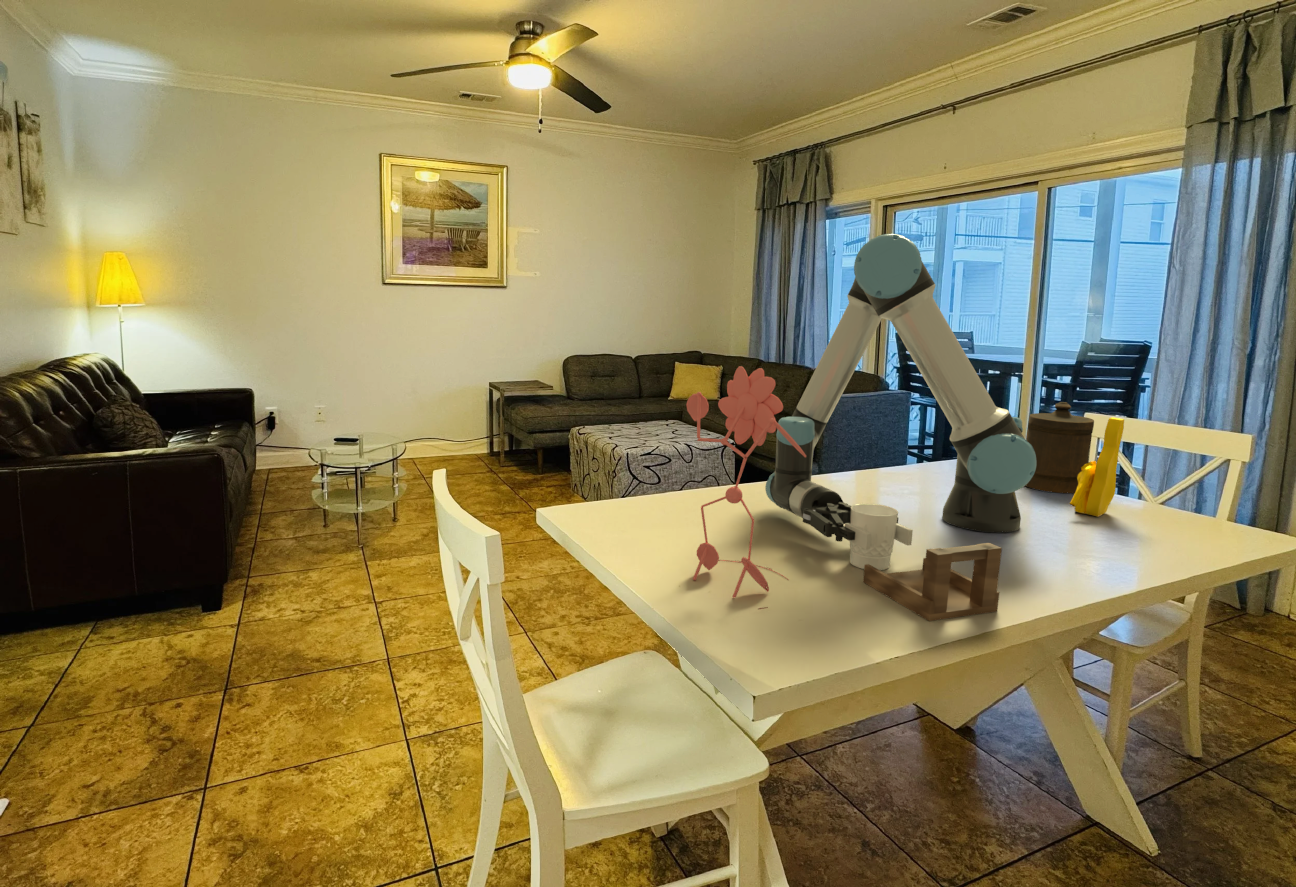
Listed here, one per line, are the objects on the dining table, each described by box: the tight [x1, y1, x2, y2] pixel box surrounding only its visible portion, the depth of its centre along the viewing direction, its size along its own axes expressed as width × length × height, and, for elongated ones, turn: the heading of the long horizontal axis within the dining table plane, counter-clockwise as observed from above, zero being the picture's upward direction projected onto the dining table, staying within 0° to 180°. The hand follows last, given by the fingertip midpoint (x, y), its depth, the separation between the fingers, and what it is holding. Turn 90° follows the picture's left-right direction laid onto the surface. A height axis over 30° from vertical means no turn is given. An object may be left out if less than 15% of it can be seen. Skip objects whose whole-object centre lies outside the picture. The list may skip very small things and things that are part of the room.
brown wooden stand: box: [862, 542, 1003, 622], centre depth 117 cm, size 16×12×10 cm
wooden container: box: [1024, 401, 1095, 494], centre depth 191 cm, size 15×15×22 cm
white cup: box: [849, 503, 899, 571], centre depth 131 cm, size 8×8×10 cm
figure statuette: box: [1069, 417, 1125, 518], centre depth 166 cm, size 18×8×22 cm, turn 134°
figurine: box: [685, 365, 806, 610], centre depth 120 cm, size 15×26×35 cm, turn 39°
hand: (889, 539), depth 126 cm, fingers closed on white cup, 8 cm apart
